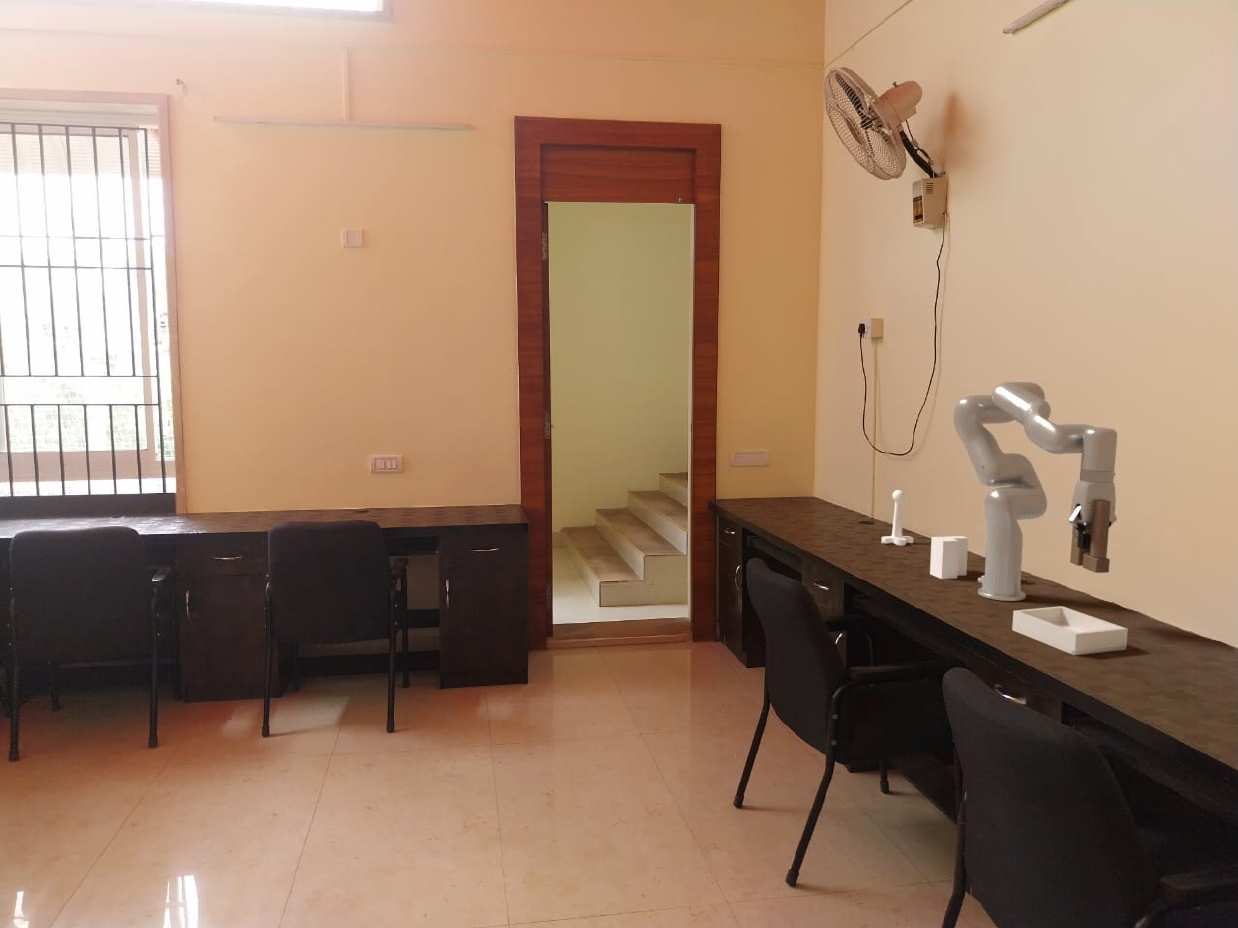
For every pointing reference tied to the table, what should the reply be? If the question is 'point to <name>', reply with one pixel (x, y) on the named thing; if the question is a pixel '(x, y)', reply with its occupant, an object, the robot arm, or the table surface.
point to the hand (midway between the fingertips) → (1090, 547)
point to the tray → (1070, 630)
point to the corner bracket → (948, 556)
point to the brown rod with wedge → (1094, 541)
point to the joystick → (897, 522)
